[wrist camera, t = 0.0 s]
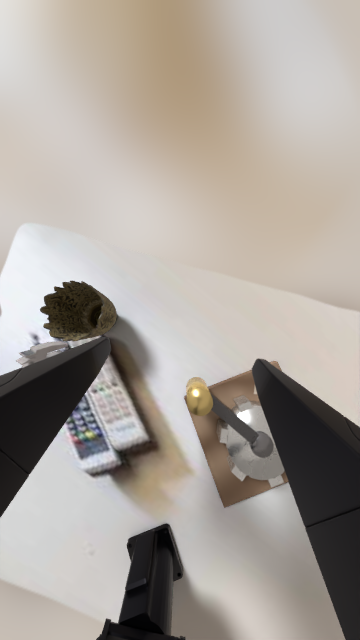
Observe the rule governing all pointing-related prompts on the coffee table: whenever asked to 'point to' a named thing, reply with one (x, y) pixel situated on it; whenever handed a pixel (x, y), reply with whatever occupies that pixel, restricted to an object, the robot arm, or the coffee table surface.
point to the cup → (78, 312)
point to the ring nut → (240, 433)
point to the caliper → (40, 352)
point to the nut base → (217, 452)
